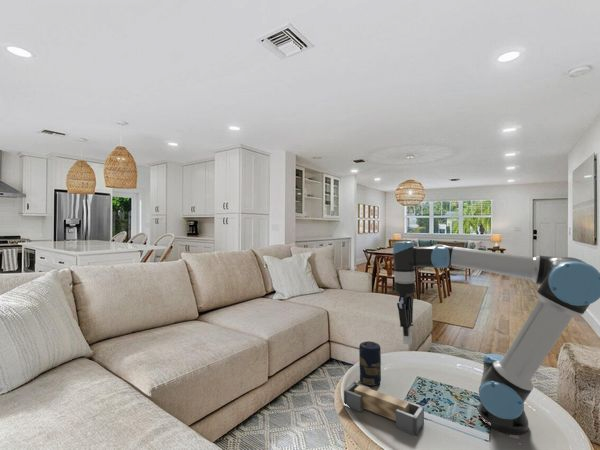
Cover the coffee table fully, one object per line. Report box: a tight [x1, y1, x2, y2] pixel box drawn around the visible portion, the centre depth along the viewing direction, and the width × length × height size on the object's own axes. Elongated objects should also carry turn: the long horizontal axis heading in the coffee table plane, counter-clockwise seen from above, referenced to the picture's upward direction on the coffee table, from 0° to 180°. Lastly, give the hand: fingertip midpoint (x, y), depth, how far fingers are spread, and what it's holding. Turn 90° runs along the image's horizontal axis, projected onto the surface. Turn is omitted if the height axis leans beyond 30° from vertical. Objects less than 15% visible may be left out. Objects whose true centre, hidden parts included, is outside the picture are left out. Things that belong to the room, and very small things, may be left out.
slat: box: [354, 385, 409, 422], centre depth 116 cm, size 20×4×6 cm, turn 52°
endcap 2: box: [395, 399, 425, 437], centre depth 109 cm, size 7×8×6 cm
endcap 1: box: [343, 381, 371, 413], centre depth 122 cm, size 7×8×6 cm
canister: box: [358, 340, 382, 386], centre depth 139 cm, size 10×10×18 cm
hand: (407, 343), depth 117 cm, fingers closed
